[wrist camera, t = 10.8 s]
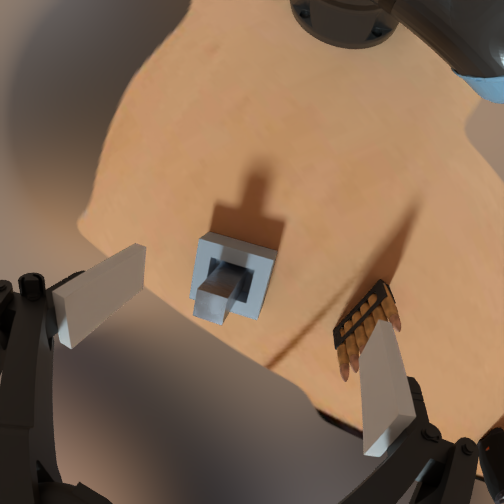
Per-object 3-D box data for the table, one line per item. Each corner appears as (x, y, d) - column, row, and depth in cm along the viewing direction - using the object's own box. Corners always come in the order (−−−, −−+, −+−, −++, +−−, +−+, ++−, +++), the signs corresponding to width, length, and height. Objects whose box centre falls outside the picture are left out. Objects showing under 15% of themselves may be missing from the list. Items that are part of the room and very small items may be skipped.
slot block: (209, 231, 43) (199, 238, 39) (277, 251, 42) (273, 260, 38) (199, 287, 46) (189, 298, 42) (262, 306, 45) (257, 320, 41)
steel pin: (225, 257, 43) (197, 288, 32) (249, 264, 42) (227, 298, 32) (221, 279, 44) (192, 315, 34) (244, 286, 43) (221, 325, 33)
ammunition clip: (380, 278, 40) (399, 320, 29) (389, 285, 40) (410, 329, 29) (332, 330, 44) (334, 382, 32) (341, 337, 44) (345, 389, 32)
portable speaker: (471, 441, 45) (490, 502, 27) (504, 420, 42) (529, 478, 23) (476, 453, 46) (492, 509, 28) (506, 434, 43) (527, 488, 24)
